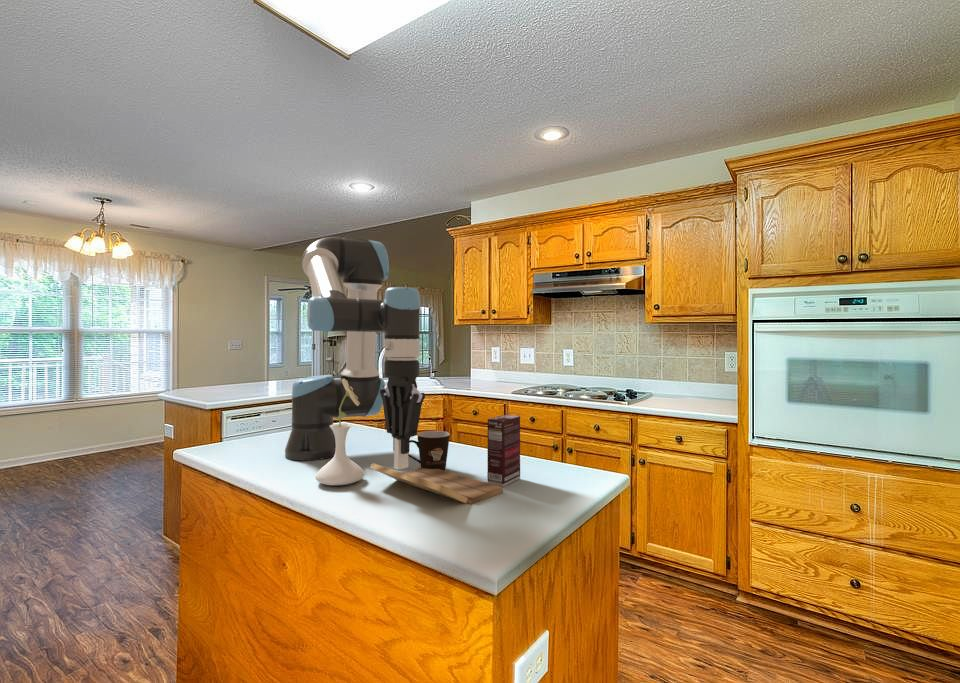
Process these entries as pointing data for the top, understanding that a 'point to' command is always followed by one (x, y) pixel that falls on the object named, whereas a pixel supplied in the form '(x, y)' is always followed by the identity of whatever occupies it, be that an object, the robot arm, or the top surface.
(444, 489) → the plank
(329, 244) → the robot arm
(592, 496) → the top surface
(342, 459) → the flower in vase
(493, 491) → the laid strip
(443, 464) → the coffee mug
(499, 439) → the supplement box
